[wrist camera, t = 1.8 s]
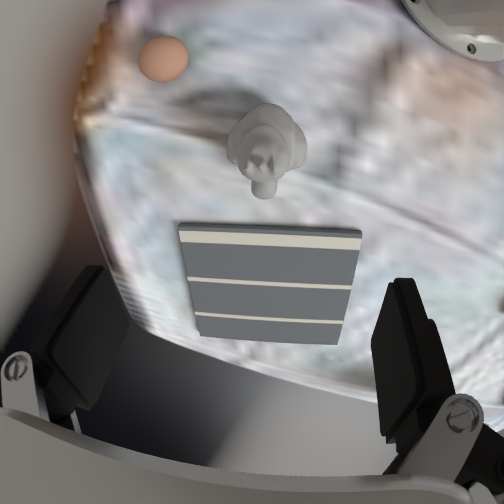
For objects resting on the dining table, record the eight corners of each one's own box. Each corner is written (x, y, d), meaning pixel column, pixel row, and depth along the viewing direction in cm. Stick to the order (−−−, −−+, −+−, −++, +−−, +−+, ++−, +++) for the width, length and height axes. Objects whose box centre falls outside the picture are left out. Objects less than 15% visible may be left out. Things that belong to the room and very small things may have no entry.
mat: (180, 223, 28) (178, 226, 28) (361, 230, 27) (362, 234, 26) (201, 332, 37) (200, 336, 37) (336, 340, 35) (337, 345, 35)
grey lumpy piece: (308, 102, 21) (316, 127, 15) (301, 183, 25) (302, 239, 18) (233, 97, 21) (206, 121, 15) (233, 178, 25) (210, 231, 19)
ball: (149, 40, 19) (127, 40, 16) (193, 33, 19) (177, 31, 16) (152, 82, 21) (132, 88, 18) (196, 76, 21) (180, 82, 18)
